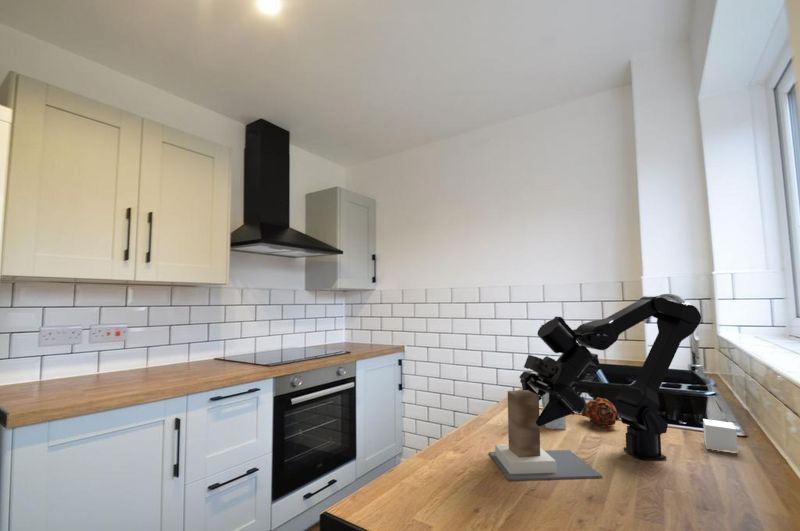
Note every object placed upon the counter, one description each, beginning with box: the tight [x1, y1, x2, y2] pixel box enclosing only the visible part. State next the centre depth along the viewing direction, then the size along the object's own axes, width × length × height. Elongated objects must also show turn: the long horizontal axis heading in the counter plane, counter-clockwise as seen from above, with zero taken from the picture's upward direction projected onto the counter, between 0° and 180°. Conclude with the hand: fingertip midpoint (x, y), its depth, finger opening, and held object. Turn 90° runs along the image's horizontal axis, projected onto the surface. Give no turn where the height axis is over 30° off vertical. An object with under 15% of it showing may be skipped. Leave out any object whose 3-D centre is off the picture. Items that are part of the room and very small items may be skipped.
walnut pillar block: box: [507, 389, 541, 458], centre depth 89 cm, size 5×5×13 cm
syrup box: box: [540, 378, 567, 430], centre depth 116 cm, size 6×6×14 cm
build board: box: [488, 443, 603, 481], centre depth 89 cm, size 20×14×3 cm
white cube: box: [702, 418, 739, 453], centre depth 99 cm, size 6×6×6 cm
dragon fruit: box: [580, 397, 621, 429], centre depth 117 cm, size 8×8×12 cm
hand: (526, 418), depth 90 cm, fingers open, 9 cm apart
